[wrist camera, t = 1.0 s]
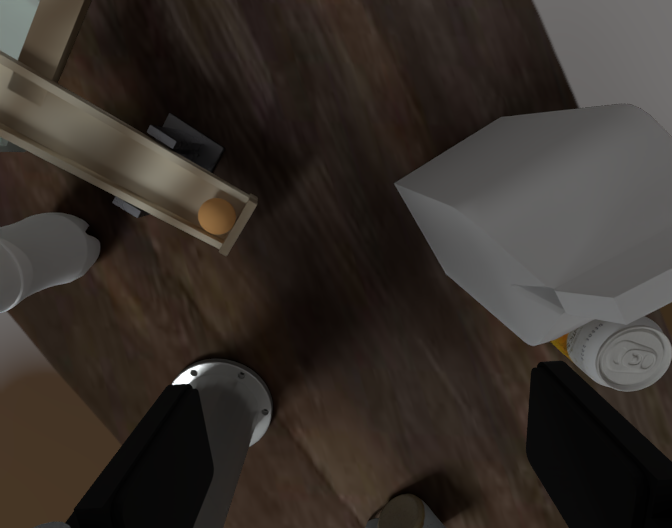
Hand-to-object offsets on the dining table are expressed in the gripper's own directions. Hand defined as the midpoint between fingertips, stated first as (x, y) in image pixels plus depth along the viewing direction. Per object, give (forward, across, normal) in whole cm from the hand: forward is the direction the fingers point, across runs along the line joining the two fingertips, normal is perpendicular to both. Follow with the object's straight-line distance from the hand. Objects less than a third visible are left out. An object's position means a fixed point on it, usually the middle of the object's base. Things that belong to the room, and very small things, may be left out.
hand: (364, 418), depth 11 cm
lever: (+25, +17, -11) cm, 32 cm away
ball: (+24, +12, -3) cm, 27 cm away
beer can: (+31, -20, +9) cm, 38 cm away
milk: (+31, -13, -2) cm, 34 cm away
